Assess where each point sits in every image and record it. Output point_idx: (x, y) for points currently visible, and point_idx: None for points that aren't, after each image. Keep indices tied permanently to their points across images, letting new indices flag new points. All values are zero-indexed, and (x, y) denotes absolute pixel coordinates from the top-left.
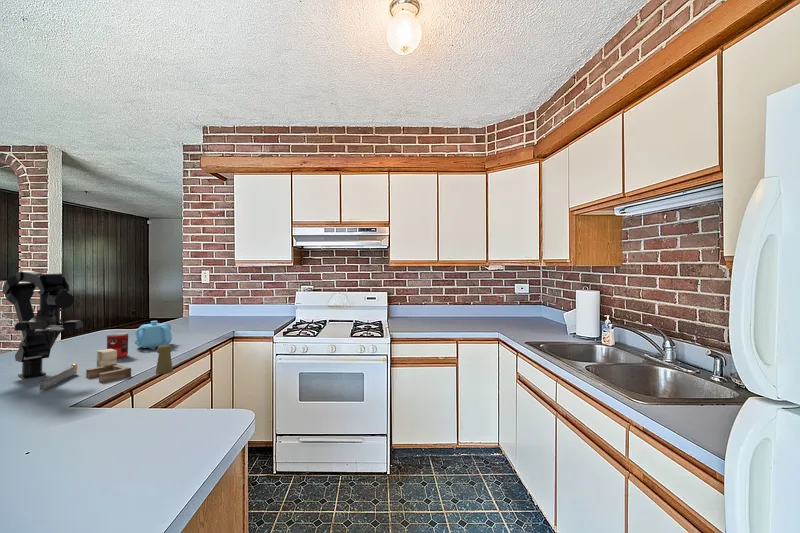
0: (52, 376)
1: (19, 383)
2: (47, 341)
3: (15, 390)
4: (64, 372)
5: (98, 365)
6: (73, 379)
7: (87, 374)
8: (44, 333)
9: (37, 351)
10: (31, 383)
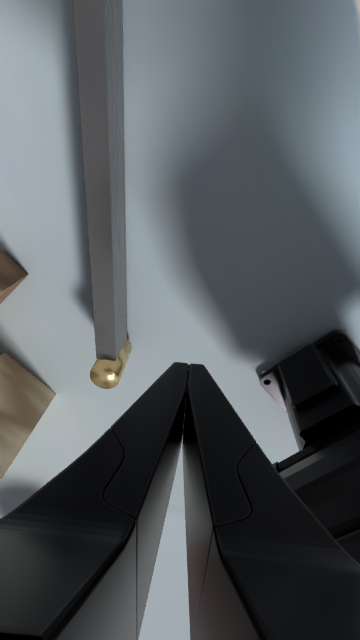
0: (87, 74)
1: (335, 231)
2: (192, 423)
3: (307, 33)
4: (91, 237)
5: (26, 400)
6: (71, 242)
7: (5, 268)
8: (236, 598)
9: (335, 458)
10: (268, 211)
